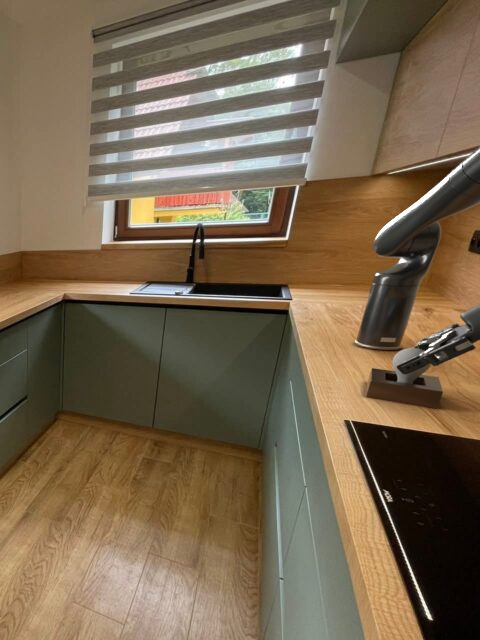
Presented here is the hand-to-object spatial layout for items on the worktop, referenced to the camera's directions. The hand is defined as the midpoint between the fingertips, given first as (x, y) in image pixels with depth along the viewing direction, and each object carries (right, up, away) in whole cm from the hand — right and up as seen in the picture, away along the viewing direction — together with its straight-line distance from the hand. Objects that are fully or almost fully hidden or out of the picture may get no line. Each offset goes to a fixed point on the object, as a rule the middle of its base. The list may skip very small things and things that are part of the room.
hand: (399, 365), depth 87 cm
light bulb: (+1, -6, +1) cm, 7 cm away
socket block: (+1, -6, +1) cm, 6 cm away
